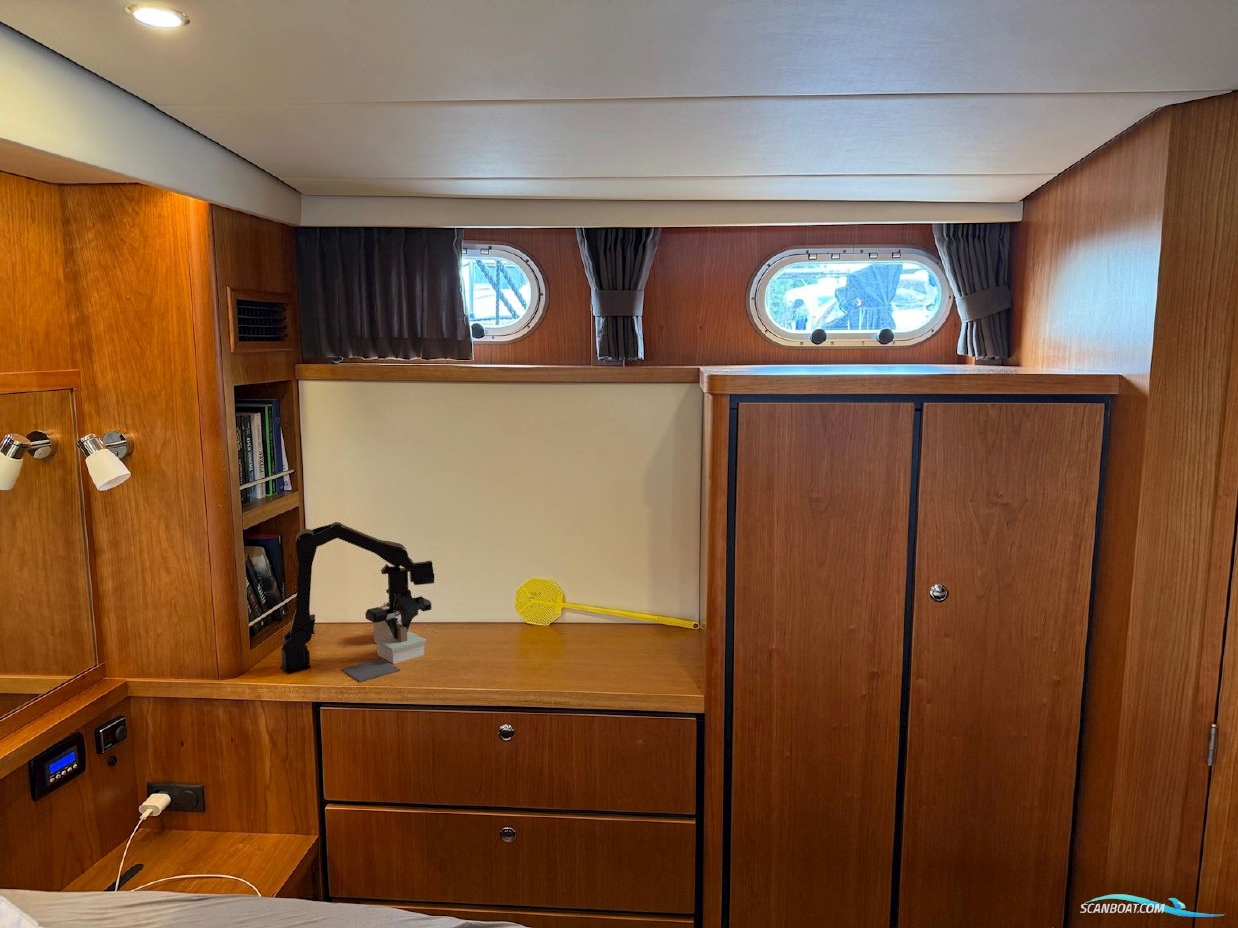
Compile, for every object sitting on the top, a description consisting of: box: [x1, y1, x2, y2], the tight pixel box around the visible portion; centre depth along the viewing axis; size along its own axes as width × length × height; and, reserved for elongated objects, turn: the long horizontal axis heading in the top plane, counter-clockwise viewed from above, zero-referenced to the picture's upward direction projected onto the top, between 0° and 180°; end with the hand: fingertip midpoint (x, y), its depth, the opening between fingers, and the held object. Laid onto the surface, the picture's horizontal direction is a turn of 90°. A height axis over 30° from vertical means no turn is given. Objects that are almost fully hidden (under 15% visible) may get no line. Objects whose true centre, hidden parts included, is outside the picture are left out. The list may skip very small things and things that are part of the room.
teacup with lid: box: [372, 601, 402, 640], centre depth 249 cm, size 12×9×12 cm
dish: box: [376, 643, 425, 665], centre depth 234 cm, size 10×10×4 cm
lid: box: [373, 624, 427, 651], centre depth 233 cm, size 11×11×5 cm
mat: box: [340, 657, 401, 683], centre depth 222 cm, size 12×12×1 cm
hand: (400, 637), depth 234 cm, fingers open, 3 cm apart
